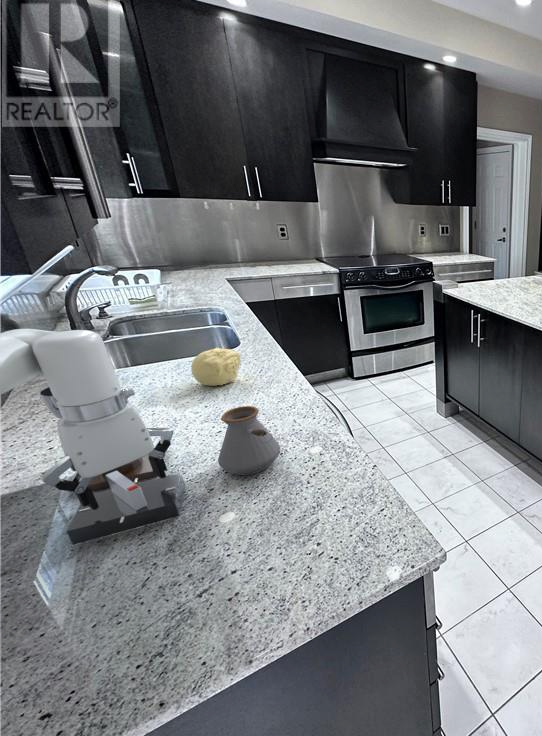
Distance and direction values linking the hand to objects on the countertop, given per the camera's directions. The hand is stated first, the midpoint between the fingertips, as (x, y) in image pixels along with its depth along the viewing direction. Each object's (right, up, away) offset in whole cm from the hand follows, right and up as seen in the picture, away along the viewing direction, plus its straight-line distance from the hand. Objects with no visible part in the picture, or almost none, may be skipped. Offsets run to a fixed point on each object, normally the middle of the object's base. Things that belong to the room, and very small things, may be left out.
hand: (128, 490), depth 73 cm
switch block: (-12, 0, +11) cm, 16 cm away
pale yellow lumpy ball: (-22, +17, +53) cm, 60 cm away
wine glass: (-27, +4, +19) cm, 33 cm away
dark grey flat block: (-1, -5, +2) cm, 5 cm away
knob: (0, -2, +1) cm, 2 cm away
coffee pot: (+15, -1, +13) cm, 20 cm away
